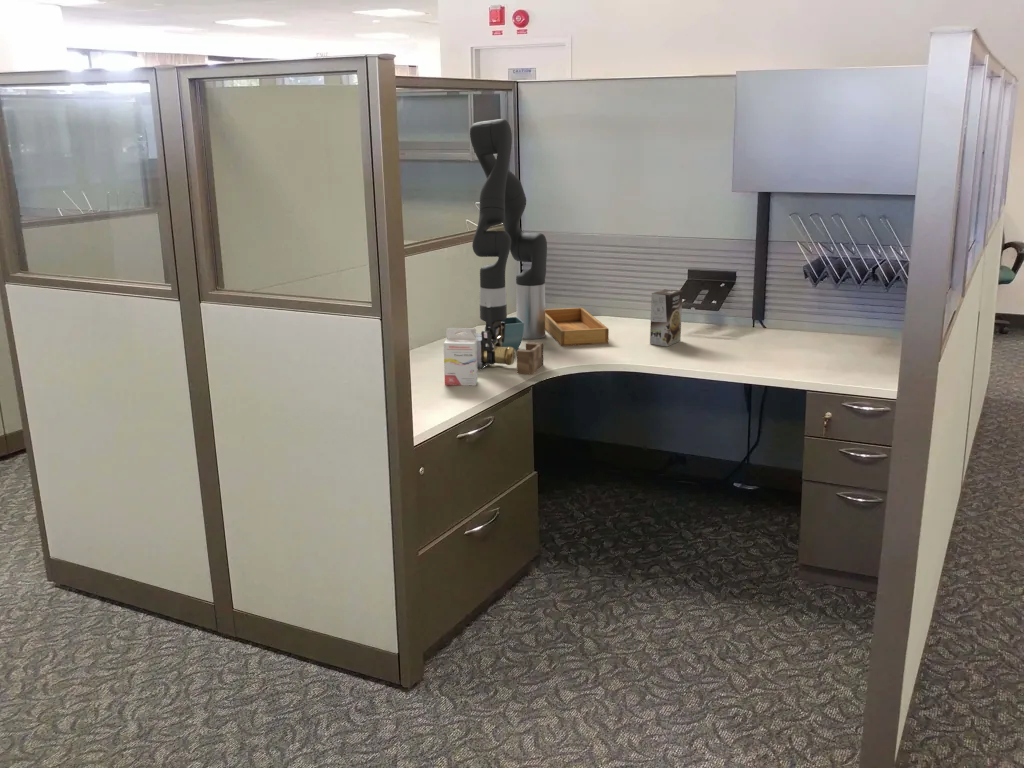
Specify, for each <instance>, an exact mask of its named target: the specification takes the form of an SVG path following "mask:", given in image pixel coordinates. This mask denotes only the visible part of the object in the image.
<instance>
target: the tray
mask: <svg viewBox="0 0 1024 768" xmlns="http://www.w3.org/2000/svg"><path fill="white" fill-rule="evenodd" d="M609 330H610V329H609V327H607V326H606V325H605V324H603V323H602V322H601V321H600V320H598V319H597V318H596V317H594V316H593V315H592V314H591V313H590V312H588V311H587V309H584V308H583V307H568V308H567V307H565V308H548V309H546V308H545V331H546V332H547V333H549V335H550V336H551V337H552V338H553V339H554V340H555V341H556V342H557V343H558V345H560V347H570V346H573V345H574V346H584V345H585V346H587V345H602V344H609V334H610V332H609Z"/></svg>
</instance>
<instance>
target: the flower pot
mask: <svg viewBox="0 0 1024 768" xmlns="http://www.w3.org/2000/svg"><path fill="white" fill-rule="evenodd" d="M501 322H505V339H504V343H502V346H501V347H512V348H514V349H515V351H517V350H519V349H520V348H519V347H520V346H521V344H522V343H523V330H524V322H523V321H521V320H520V319H519V318H517V316H511V317H510V316H509V317H508V316H507V318H506V319H505V320H503V321H501ZM499 336H500V335H499Z"/></svg>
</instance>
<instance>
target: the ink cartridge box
mask: <svg viewBox="0 0 1024 768" xmlns="http://www.w3.org/2000/svg"><path fill="white" fill-rule="evenodd" d="M445 331H446V332H445V333H446V339H445V341H444V342H443V366H444V367H443V368H444V369H443V371H444V386H469V385H472V386H477V383H478V369H477V340H476V333H477V329H476V328H473V327H472V328H470V327H469V328H468V327H466V328H465V327H464V328H463V327H447V328H445ZM460 332H462V333H466V335H461V334H459V333H460Z"/></svg>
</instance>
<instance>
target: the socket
mask: <svg viewBox="0 0 1024 768" xmlns="http://www.w3.org/2000/svg"><path fill="white" fill-rule="evenodd" d="M543 366H544V342H533V341H532V342H531V341H530V342H529V341H528V342H526V343H525V349H521V348H518V349H517V350H516V374H517V375H518V374H519V375H527V376H528V375H530V376H531V375H534V374H535V373H536V372H538V370H540V369H541V368H542V367H543Z"/></svg>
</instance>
